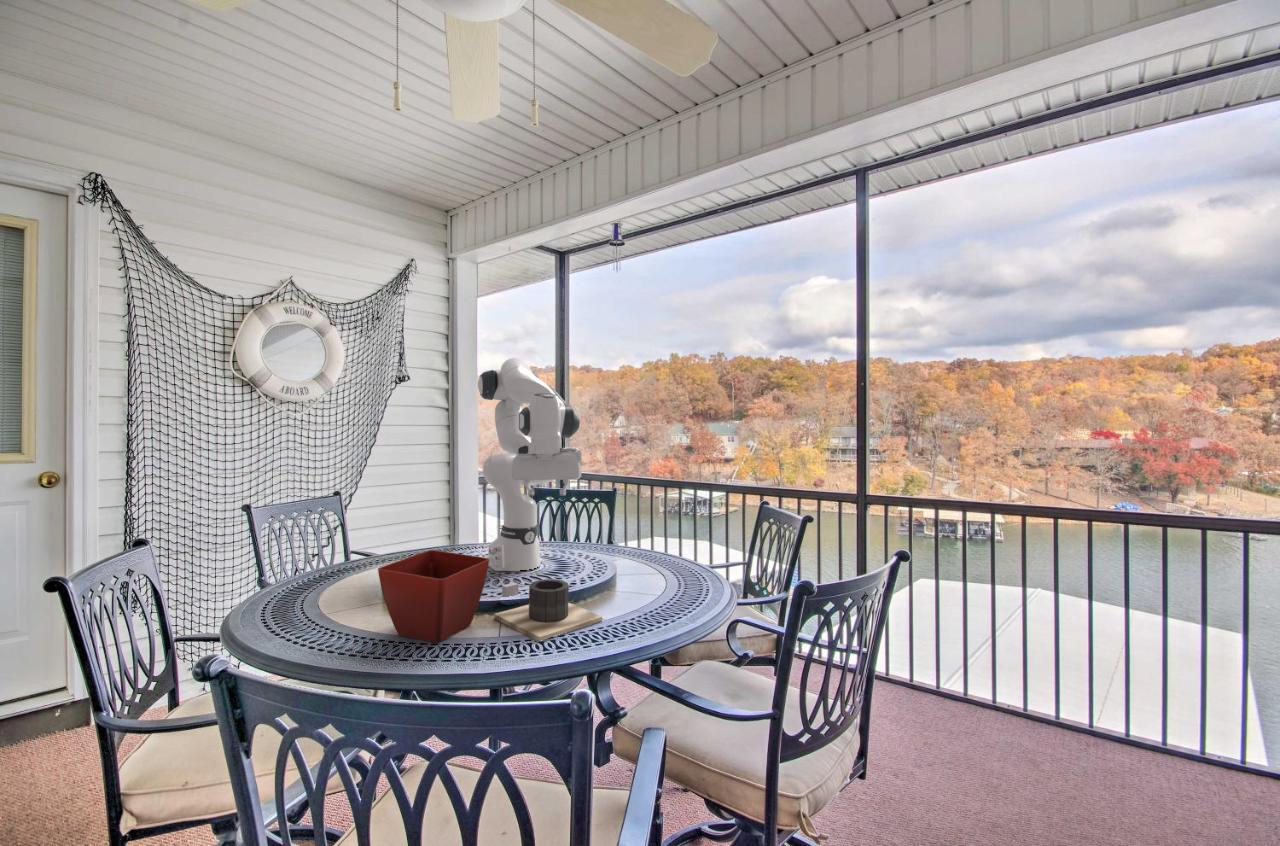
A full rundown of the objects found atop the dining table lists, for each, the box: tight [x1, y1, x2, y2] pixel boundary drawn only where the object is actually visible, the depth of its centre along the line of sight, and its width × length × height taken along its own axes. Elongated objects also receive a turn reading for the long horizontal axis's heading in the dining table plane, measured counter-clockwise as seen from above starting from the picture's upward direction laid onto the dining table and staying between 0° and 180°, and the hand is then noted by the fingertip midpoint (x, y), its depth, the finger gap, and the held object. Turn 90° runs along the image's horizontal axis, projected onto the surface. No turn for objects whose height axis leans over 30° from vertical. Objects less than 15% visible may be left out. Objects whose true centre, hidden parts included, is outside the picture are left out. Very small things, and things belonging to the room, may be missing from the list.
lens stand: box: [493, 578, 603, 642], centre depth 153 cm, size 20×20×9 cm
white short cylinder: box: [499, 582, 519, 598], centre depth 166 cm, size 6×6×5 cm
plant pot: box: [377, 549, 489, 644], centre depth 144 cm, size 19×19×17 cm
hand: (546, 495), depth 170 cm, fingers open, 8 cm apart
